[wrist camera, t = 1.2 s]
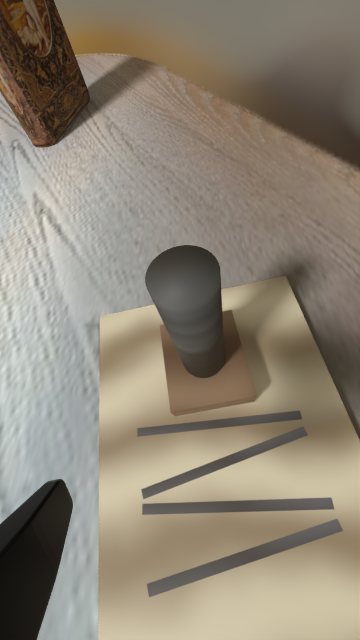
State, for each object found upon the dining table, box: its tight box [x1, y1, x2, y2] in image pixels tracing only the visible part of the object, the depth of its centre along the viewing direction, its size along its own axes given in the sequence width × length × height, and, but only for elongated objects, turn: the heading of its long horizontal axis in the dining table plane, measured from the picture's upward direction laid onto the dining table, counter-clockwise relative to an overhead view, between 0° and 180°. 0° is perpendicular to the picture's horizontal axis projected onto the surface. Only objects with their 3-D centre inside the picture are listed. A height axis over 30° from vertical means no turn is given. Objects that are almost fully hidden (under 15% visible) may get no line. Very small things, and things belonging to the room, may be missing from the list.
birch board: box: [98, 275, 360, 640], centre depth 19 cm, size 24×18×1 cm
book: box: [0, 0, 90, 147], centre depth 39 cm, size 16×6×25 cm, turn 166°
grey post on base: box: [145, 245, 257, 417], centre depth 16 cm, size 7×6×12 cm
